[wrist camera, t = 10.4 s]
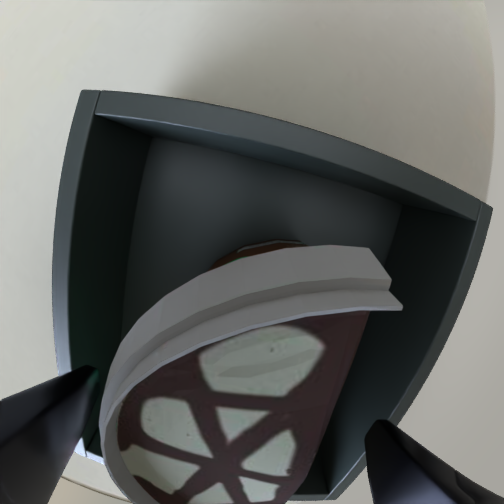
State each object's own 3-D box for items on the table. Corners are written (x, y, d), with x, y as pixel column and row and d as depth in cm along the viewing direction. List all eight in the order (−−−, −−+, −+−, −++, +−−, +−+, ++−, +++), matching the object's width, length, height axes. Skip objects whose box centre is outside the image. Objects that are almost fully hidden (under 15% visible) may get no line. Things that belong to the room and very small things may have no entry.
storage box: (412, 193, 15) (494, 207, 8) (318, 427, 18) (336, 500, 12) (145, 120, 14) (80, 88, 7) (112, 384, 17) (74, 452, 11)
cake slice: (176, 190, 14) (45, 219, 4) (305, 210, 14) (413, 276, 4) (163, 394, 17) (119, 528, 7) (260, 409, 17) (268, 551, 7)
